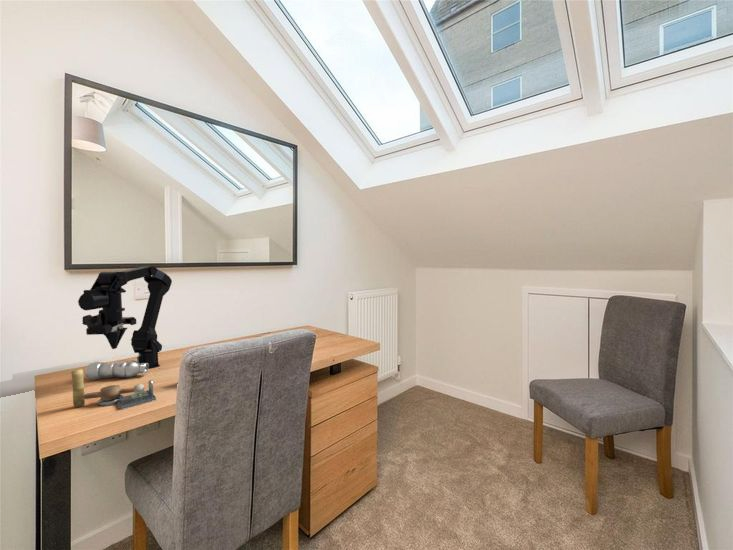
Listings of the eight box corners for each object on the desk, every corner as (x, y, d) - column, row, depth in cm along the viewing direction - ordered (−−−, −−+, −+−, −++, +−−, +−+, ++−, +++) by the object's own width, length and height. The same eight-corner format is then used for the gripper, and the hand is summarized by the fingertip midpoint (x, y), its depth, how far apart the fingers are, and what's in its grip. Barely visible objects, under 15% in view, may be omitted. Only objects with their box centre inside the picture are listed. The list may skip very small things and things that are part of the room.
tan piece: (146, 392, 112) (144, 361, 112) (142, 398, 108) (141, 365, 107) (77, 402, 105) (75, 368, 105) (70, 409, 101) (68, 374, 100)
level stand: (146, 389, 116) (146, 375, 116) (157, 399, 108) (157, 384, 108) (96, 402, 106) (95, 386, 106) (103, 414, 98) (103, 397, 98)
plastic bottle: (94, 373, 130) (151, 369, 134) (84, 384, 124) (144, 380, 128) (90, 358, 128) (149, 355, 132) (80, 369, 122) (141, 365, 126)
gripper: (106, 303, 132) (108, 343, 133) (68, 310, 113) (70, 356, 114) (136, 302, 133) (138, 342, 133) (103, 309, 114) (105, 355, 115)
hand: (114, 348), depth 124 cm, fingers closed
